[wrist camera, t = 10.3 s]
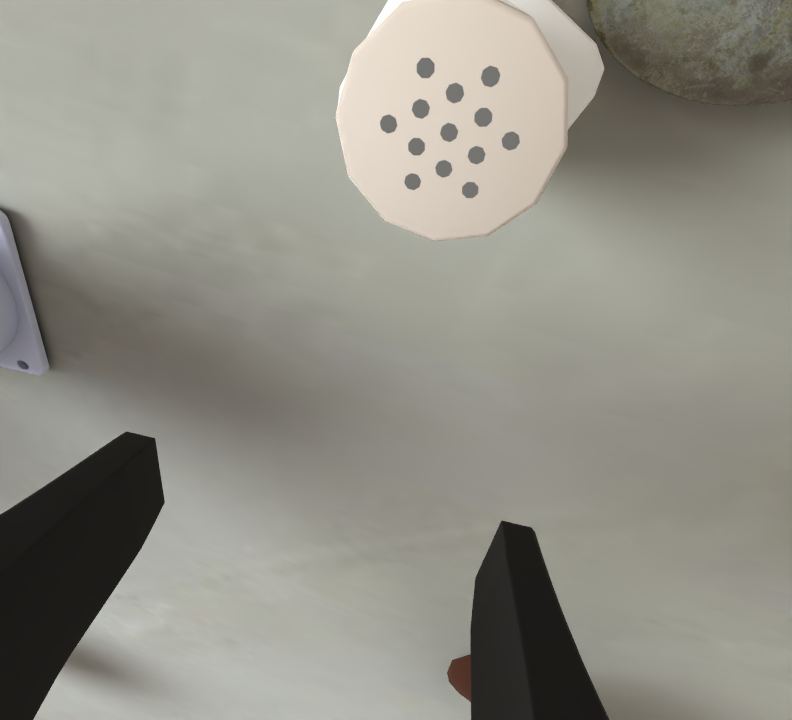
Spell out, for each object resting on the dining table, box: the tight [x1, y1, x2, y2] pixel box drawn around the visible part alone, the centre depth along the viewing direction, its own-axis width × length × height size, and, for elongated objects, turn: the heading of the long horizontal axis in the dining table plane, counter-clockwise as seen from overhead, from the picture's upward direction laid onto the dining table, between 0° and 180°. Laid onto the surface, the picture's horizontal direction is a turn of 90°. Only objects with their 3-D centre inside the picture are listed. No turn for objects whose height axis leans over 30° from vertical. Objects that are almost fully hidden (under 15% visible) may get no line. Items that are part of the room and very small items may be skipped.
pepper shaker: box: [335, 0, 605, 241], centre depth 11 cm, size 4×4×10 cm
